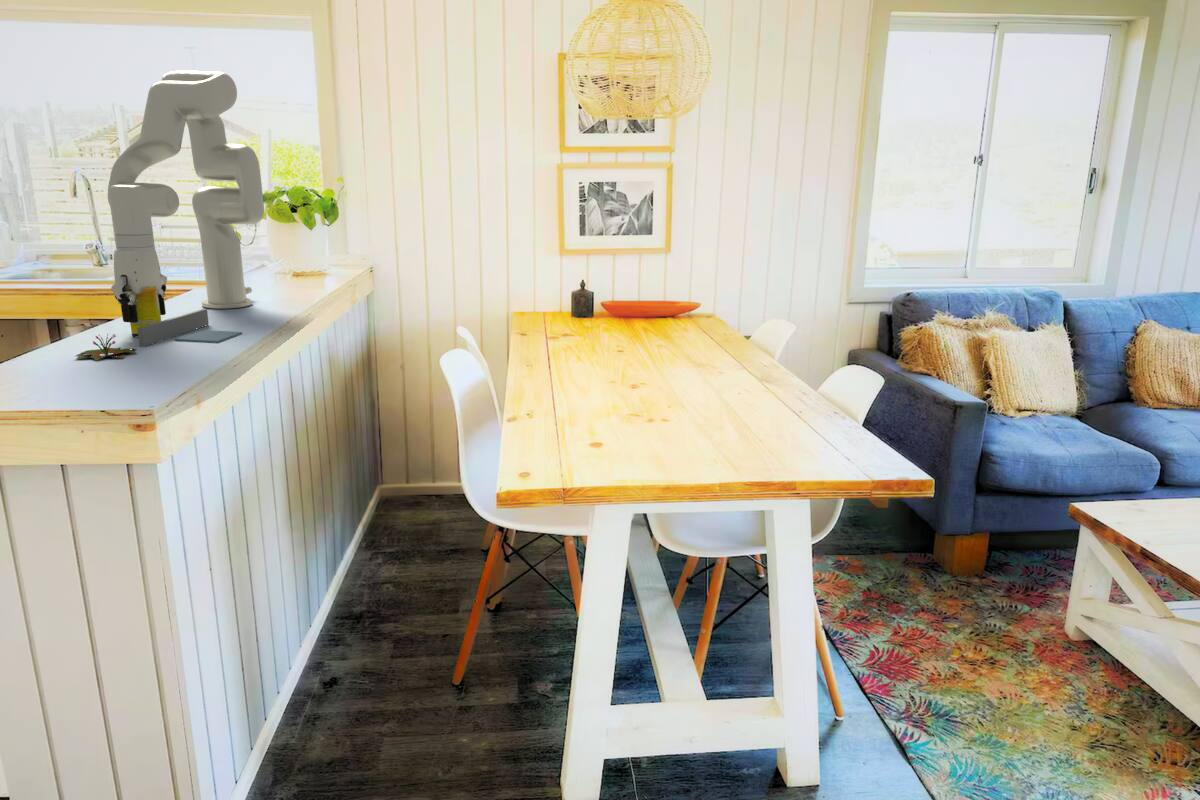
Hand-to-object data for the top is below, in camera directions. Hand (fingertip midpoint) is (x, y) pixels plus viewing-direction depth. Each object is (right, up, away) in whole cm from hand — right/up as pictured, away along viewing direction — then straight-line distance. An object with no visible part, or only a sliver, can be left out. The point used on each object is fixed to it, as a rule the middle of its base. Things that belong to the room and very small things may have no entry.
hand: (145, 318), depth 182 cm
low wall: (+7, -4, +1) cm, 8 cm away
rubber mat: (+15, -4, 0) cm, 15 cm away
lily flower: (+3, -10, -18) cm, 21 cm away
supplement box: (0, -4, +1) cm, 4 cm away
